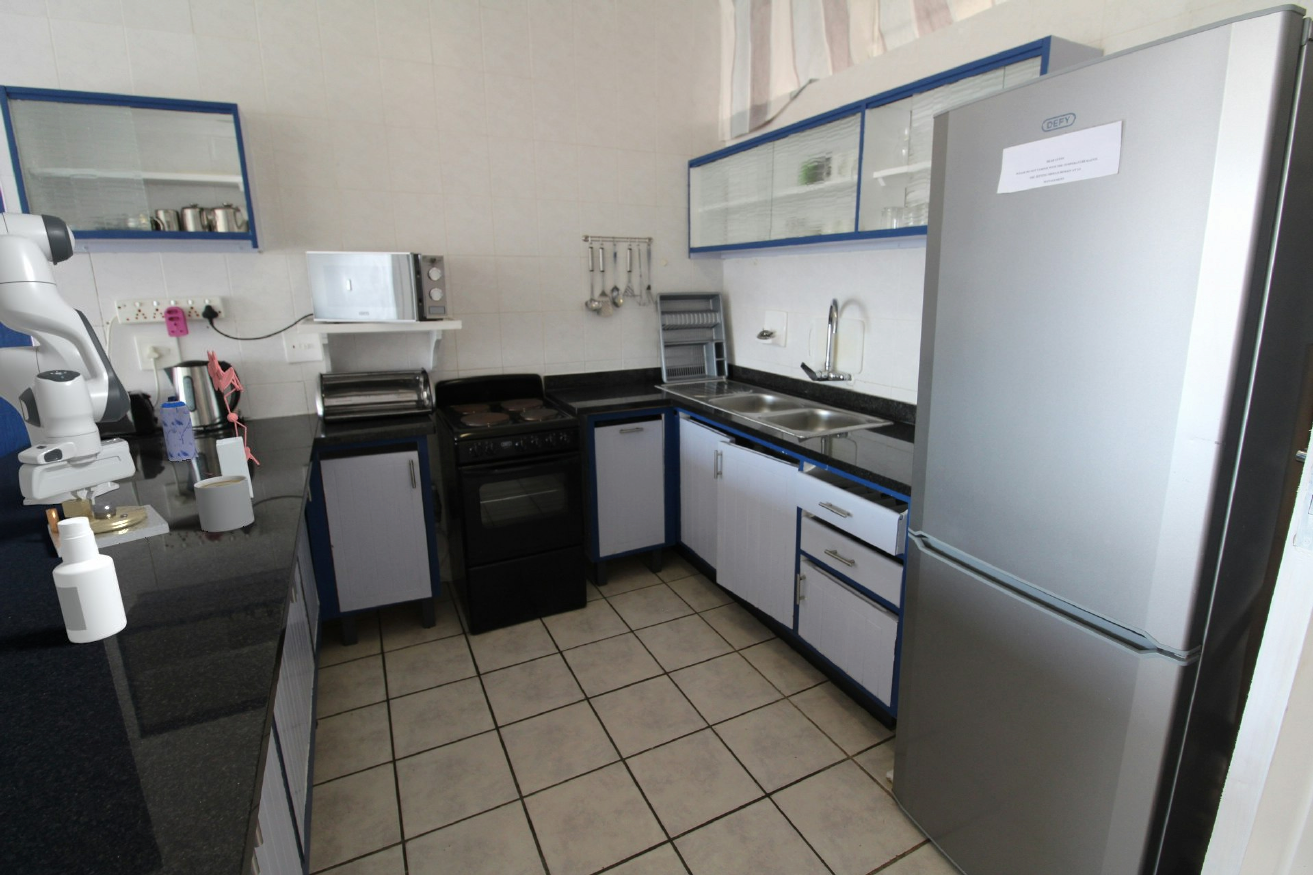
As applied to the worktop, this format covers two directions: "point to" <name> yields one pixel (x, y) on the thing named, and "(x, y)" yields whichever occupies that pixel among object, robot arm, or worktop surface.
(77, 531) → the white bottle
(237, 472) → the skincare box
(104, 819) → the worktop surface
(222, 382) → the figurine
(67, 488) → the robot arm
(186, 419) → the aerosol can
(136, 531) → the base plate
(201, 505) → the coffee mug
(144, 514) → the flange plate
